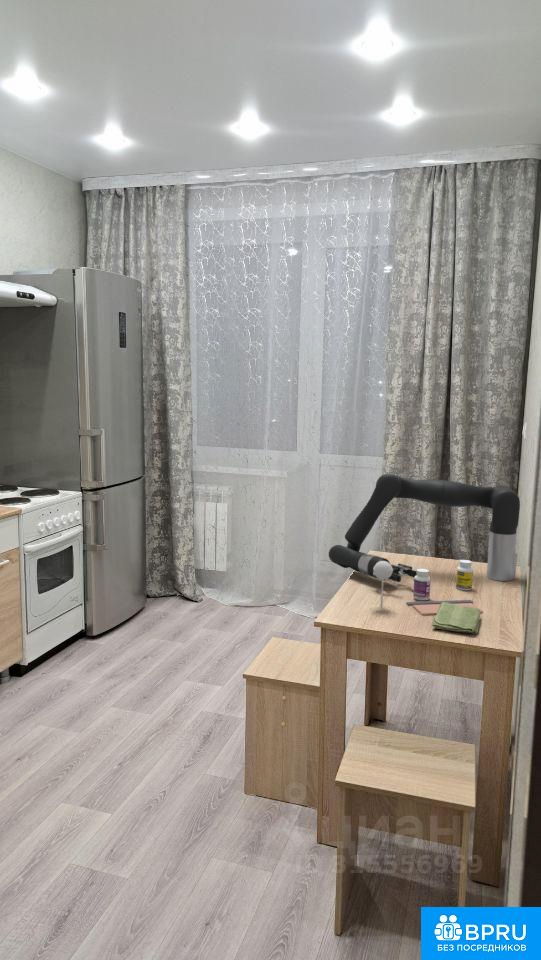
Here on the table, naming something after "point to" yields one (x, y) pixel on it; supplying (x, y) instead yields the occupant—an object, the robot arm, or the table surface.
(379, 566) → the lollipop
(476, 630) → the washcloth
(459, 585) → the supplement bottle
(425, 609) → the mat
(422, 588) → the pill bottle
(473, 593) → the table surface
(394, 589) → the table surface
